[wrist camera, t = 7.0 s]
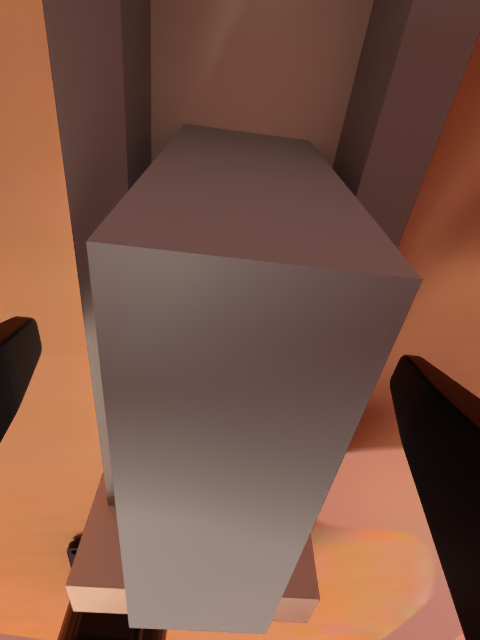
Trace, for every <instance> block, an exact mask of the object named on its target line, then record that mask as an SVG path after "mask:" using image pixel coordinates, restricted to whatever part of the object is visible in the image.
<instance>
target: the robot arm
mask: <svg viewBox="0 0 480 640" xmlns="http://www.w3.org/2000/svg"><path fill="white" fill-rule="evenodd" d="M41 350H42V345H41V340H40V335H39V331H38V326H37V323H36V321H35V319H33V318H29V317H20V316H16V317H13V318H11V319H8V320H6V321H4V322H2V323H0V442H1V441H2V439H3V437H4V435H5V433H6V431H7V430H8V428H9V426H10V424H11V422H12V421H13V419H14V417H15V415H16V413H17V411H18V409H19V407H20V404H21V402H22V400H23V397H24V395H25V392H26V390H27V387H28V385H29V383H30V380H31V378H32V375H33V373H34V370H35V368H36V365H37V363H38V360H39V358H40V355H41ZM390 389H391V394H392V399H393V404H394V409H395V414H396V419H397V424H398V429H399V433H400V438H401V442H402V445H403V448H404V452H405V455H406V458H407V460H408V464H409V467H410V470H411V473H412V476H413V479H414V482H415V485H416V488H417V491H418V495H419V498H420V501H421V504H422V507H423V510H424V513H425V516H426V519H427V522H428V525H429V529H430V532H431V534H432V538H433V541H434V543H435V547H436V550H437V553H438V556H439V559H440V562H441V565H442V569H443V571H444V574H445V578H446V580H447V584H448V587H449V590H450V593H451V596H452V599H453V602H454V605H455V609H456V612H457V615H458V618H459V621H460V623H461V627H462V630H463V633H464V636H465V639H466V640H480V399H479V398H478V397H477V396H475V395H474V394H472V393H471V392H470V391H468V390H467V389H465V388H464V387H463V386H461V385H460V384H458V383H457V382H456V381H454V380H453V379H451V378H450V377H449V376H447V375H446V374H444V373H443V372H442V371H440V370H439V369H437V368H436V367H435V366H433V365H432V364H430V363H429V362H428V361H426V360H425V359H423V358H422V357H420V356H414V355H403V356H402V357H401V358H400V360H399V362H398V364H397V366H396V368H395V371H394V373H393V375H392V377H391V380H390ZM79 544H80V541H72V542H70V543H69V546H68V549H67V555H68V558H69V562H70V566H71V568H72V565H73V562H74V559H75V556H76V553H77V550H78V547H79ZM166 633H167V629H146V628H129V622H128V614H116V613H96V612H76V611H73V609H72V605H71V602H70V601H69V604H68V608H67V611H66V614H65V617H64V620H63V623H62V627H61V630H60V633H59V636H58V639H57V640H166Z"/></svg>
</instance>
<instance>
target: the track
mask: <svg viewBox="0 0 480 640" xmlns="http://www.w3.org/2000/svg"><path fill="white" fill-rule="evenodd" d="M42 3H43V10H44V18H45V26H46V33H47V41H48V49H49V57H50V64H51V72H52V80H53V87H54V95H55V103H56V110H57V118H58V126H59V134H60V141H61V149H62V157H63V164H64V172H65V180H66V187H67V195H68V203H69V210H70V218H71V226H72V234H73V241H74V249H75V257H76V264H77V272H78V280H79V287H80V295H81V303H82V311H83V318H84V326H85V334H86V341H87V349H88V357H89V364H90V372H91V380H92V388H93V395H94V403H95V411H96V418H97V426H98V434H99V441H100V449H101V457H102V464H103V474H102V477H101V480H100V483H99V486H98V489H97V492H96V495H95V498H94V501H93V504H92V507H91V510H90V513H89V516H88V519H87V522H86V525H85V528H84V531H83V534H82V537H81V540H80V544H79V547H78V550H77V553H76V556H75V559H74V562H73V565H72V568H71V571H70V574H69V577H68V580H67V583H66V589H67V593H68V596H69V599H70V602H71V605H72V609H73V611H76V612H96V613H116V614H128V613H127V604H126V595H125V586H124V577H123V568H122V559H121V550H120V541H119V532H118V523H117V514H116V505H115V496H114V487H113V478H112V469H111V460H110V451H109V442H108V433H107V424H106V415H105V406H104V397H103V388H102V379H101V370H100V361H99V352H98V343H97V334H96V325H95V316H94V307H93V299H92V290H91V281H90V272H89V263H88V254H87V245H86V241H87V240H88V238H89V237H90V236H91V235H92V234H93V233H94V231H95V230H96V229H97V228H98V227H99V225H100V224H101V223H102V222H103V221H104V219H105V218H106V217H107V216H108V215H109V213H110V212H111V211H112V210H113V209H114V207H115V206H116V205H117V204H118V203H119V202H120V200H121V199H122V198H123V197H124V196H125V194H126V193H127V192H128V191H129V190H130V188H131V187H132V186H133V185H134V184H135V182H136V181H137V180H138V179H139V178H140V177H141V175H142V174H143V173H144V172H145V171H146V169H147V168H148V167H149V166H150V165H151V163H152V162H153V161H154V160H155V159H156V157H157V156H158V155H159V154H160V153H161V152H162V150H163V149H164V148H165V147H166V146H167V144H168V143H169V142H170V141H171V140H172V138H173V137H174V136H175V135H176V134H177V132H178V131H179V130H180V129H181V128H182V126H183V125H184V124H191V125H198V126H205V127H213V128H220V129H228V130H235V131H242V132H250V133H257V134H265V135H272V136H279V137H287V138H294V139H302V140H309V141H310V142H311V143H312V144H313V146H314V147H315V148H316V149H317V150H318V152H319V153H320V154H321V155H322V157H323V158H324V159H325V160H326V161H327V163H328V164H329V165H330V166H331V168H332V169H333V170H334V171H335V173H336V174H337V175H338V176H339V177H340V179H341V180H342V181H343V182H344V184H345V185H346V186H347V187H348V188H349V190H350V191H351V192H352V193H353V195H354V196H355V197H356V198H357V199H358V201H359V202H360V203H361V204H362V206H363V207H364V208H365V209H366V210H367V212H368V213H369V214H370V215H371V217H372V218H373V219H374V220H375V221H376V223H377V224H378V225H379V226H380V228H381V229H382V230H383V231H384V233H385V234H386V235H387V236H388V237H389V239H390V240H391V241H392V242H393V244H394V245H395V246H396V247H397V248H398V245H399V242H400V240H401V237H402V234H403V232H404V229H405V227H406V224H407V221H408V219H409V216H410V214H411V211H412V208H413V206H414V203H415V200H416V198H417V195H418V193H419V190H420V187H421V185H422V182H423V179H424V177H425V174H426V172H427V169H428V166H429V164H430V161H431V159H432V156H433V153H434V151H435V148H436V145H437V143H438V140H439V138H440V135H441V132H442V130H443V127H444V125H445V122H446V119H447V117H448V114H449V111H450V109H451V106H452V104H453V101H454V98H455V96H456V93H457V90H458V88H459V85H460V83H461V80H462V77H463V75H464V72H465V70H466V67H467V64H468V62H469V59H470V56H471V54H472V51H473V49H474V46H475V43H476V41H477V38H478V36H479V33H480V0H42ZM319 601H320V595H319V589H318V582H317V575H316V568H315V561H314V554H313V547H312V541H311V534H310V535H309V537H308V539H307V542H306V544H305V546H304V548H303V551H302V553H301V555H300V557H299V560H298V562H297V564H296V566H295V569H294V571H293V573H292V575H291V578H290V580H289V582H288V584H287V587H286V589H285V591H284V593H283V596H282V598H281V600H280V603H279V605H278V607H277V609H276V612H275V614H274V616H273V618H272V621H276V622H296V623H307V621H308V619H309V618H310V616H311V614H312V613H313V611H314V609H315V608H316V606H317V604H318V602H319Z"/></svg>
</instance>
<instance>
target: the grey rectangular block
mask: <svg viewBox="0 0 480 640" xmlns="http://www.w3.org/2000/svg"><path fill="white" fill-rule="evenodd" d="M86 245H87V254H88V263H89V272H90V281H91V290H92V299H93V307H94V316H95V325H96V334H97V343H98V352H99V361H100V370H101V379H102V388H103V397H104V406H105V415H106V424H107V433H108V442H109V451H110V460H111V469H112V478H113V487H114V496H115V505H116V514H117V523H118V532H119V541H120V550H121V559H122V568H123V577H124V586H125V595H126V604H127V613H128V622H129V628H146V629H167V630H188V631H209V632H230V633H252V634H266V632H267V630H268V627H269V625H270V623H271V621H272V618H273V616H274V614H275V612H276V609H277V607H278V605H279V603H280V600H281V598H282V596H283V593H284V591H285V589H286V587H287V584H288V582H289V580H290V578H291V575H292V573H293V571H294V569H295V566H296V564H297V562H298V560H299V557H300V555H301V553H302V551H303V548H304V546H305V544H306V542H307V539H308V537H309V535H310V533H311V530H312V528H313V526H314V524H315V521H316V519H317V517H318V514H319V512H320V510H321V508H322V505H323V503H324V501H325V499H326V496H327V494H328V492H329V489H330V487H331V485H332V483H333V481H334V478H335V476H336V474H337V472H338V469H339V467H340V465H341V463H342V460H343V458H344V456H345V454H346V451H347V449H348V447H349V444H350V442H351V440H352V438H353V435H354V433H355V431H356V429H357V426H358V424H359V422H360V420H361V417H362V415H363V413H364V411H365V408H366V406H367V404H368V402H369V399H370V397H371V395H372V393H373V390H374V388H375V386H376V384H377V381H378V379H379V377H380V375H381V372H382V370H383V368H384V365H385V363H386V361H387V359H388V356H389V354H390V352H391V350H392V347H393V345H394V343H395V341H396V338H397V336H398V334H399V332H400V329H401V327H402V325H403V323H404V320H405V318H406V316H407V314H408V311H409V309H410V307H411V305H412V302H413V300H414V298H415V295H416V293H417V291H418V289H419V286H420V284H421V282H422V280H423V279H422V278H421V277H420V275H419V274H418V273H417V272H416V270H415V269H414V268H413V267H412V266H411V264H410V263H409V262H408V261H407V259H406V258H405V257H404V256H403V255H402V253H401V252H400V251H399V250H398V248H397V247H396V246H395V245H394V244H393V242H392V241H391V240H390V239H389V237H388V236H387V235H386V234H385V233H384V231H383V230H382V229H381V228H380V226H379V225H378V224H377V223H376V221H375V220H374V219H373V218H372V217H371V215H370V214H369V213H368V212H367V210H366V209H365V208H364V207H363V206H362V204H361V203H360V202H359V201H358V199H357V198H356V197H355V196H354V195H353V193H352V192H351V191H350V190H349V188H348V187H347V186H346V185H345V184H344V182H343V181H342V180H341V179H340V177H339V176H338V175H337V174H336V173H335V171H334V170H333V169H332V168H331V166H330V165H329V164H328V163H327V161H326V160H325V159H324V158H323V157H322V155H321V154H320V153H319V152H318V150H317V149H316V148H315V147H314V146H313V144H312V143H311V142H310V141H309V140H302V139H294V138H287V137H279V136H272V135H265V134H257V133H250V132H242V131H235V130H228V129H220V128H213V127H205V126H198V125H191V124H184V125H183V126H182V128H181V129H180V130H179V131H178V132H177V134H176V135H175V136H174V137H173V138H172V140H171V141H170V142H169V143H168V144H167V146H166V147H165V148H164V149H163V150H162V152H161V153H160V154H159V155H158V156H157V157H156V159H155V160H154V161H153V162H152V163H151V165H150V166H149V167H148V168H147V169H146V171H145V172H144V173H143V174H142V175H141V177H140V178H139V179H138V180H137V181H136V182H135V184H134V185H133V186H132V187H131V188H130V190H129V191H128V192H127V193H126V194H125V196H124V197H123V198H122V199H121V200H120V202H119V203H118V204H117V205H116V206H115V207H114V209H113V210H112V211H111V212H110V213H109V215H108V216H107V217H106V218H105V219H104V221H103V222H102V223H101V224H100V225H99V227H98V228H97V229H96V230H95V231H94V233H93V234H92V235H91V236H90V237H89V238H88V240H87V241H86Z"/></svg>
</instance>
